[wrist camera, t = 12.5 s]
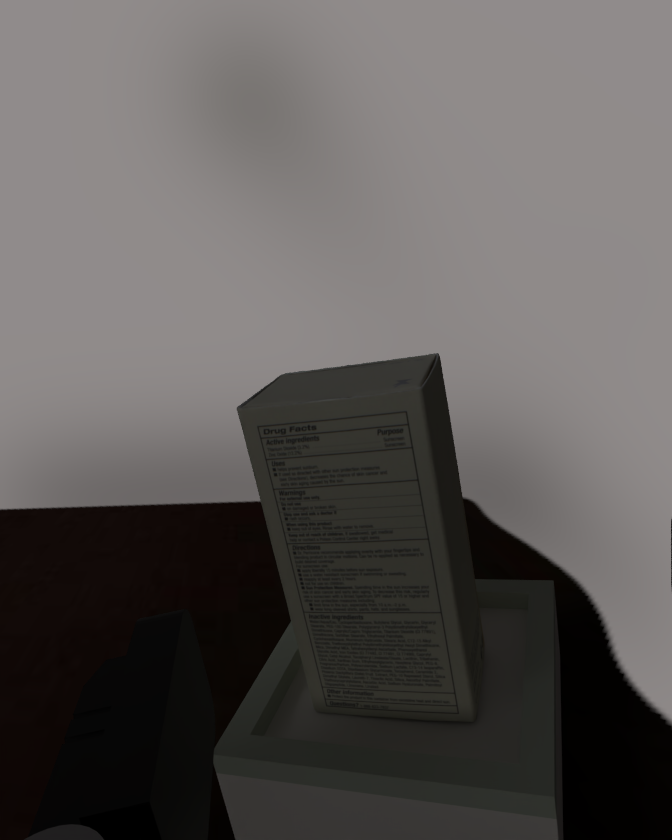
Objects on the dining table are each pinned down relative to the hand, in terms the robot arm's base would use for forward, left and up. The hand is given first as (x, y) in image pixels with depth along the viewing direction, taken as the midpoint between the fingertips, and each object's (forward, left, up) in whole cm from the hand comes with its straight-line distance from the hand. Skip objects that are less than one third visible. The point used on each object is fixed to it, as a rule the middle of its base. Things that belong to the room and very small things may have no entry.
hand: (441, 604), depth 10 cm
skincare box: (-5, +11, -11) cm, 16 cm away
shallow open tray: (-4, +11, -14) cm, 18 cm away
